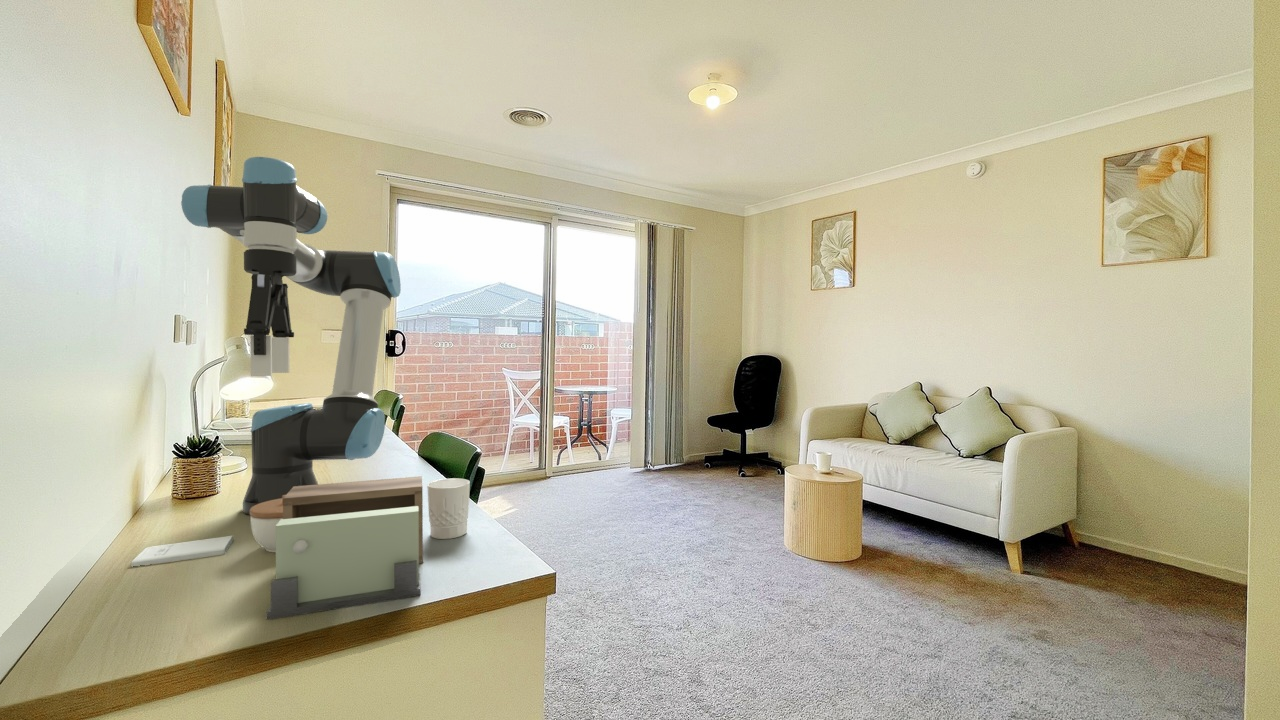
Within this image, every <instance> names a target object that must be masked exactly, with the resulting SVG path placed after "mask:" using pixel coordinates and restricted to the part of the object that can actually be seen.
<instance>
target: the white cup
mask: <svg viewBox="0 0 1280 720" xmlns="http://www.w3.org/2000/svg"><path fill="white" fill-rule="evenodd" d="M470 484H471V481H470V480H469V479H465V478H459V477H458V478H456V477H453V478H442V479H436V480H433V481H430V482H428V483H427V484H426V485H427V503H428V504H427V505H428V506H427V507H428V521H429V525H430V527H429V528H430V537H431V538H433V539H439V540H450V539H454V538H459V537H461V536H464V535H465V534H466V533H467V532H468V518H469V508H470V507H469V506H470V487H471V485H470Z"/></svg>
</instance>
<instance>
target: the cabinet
mask: <svg viewBox="0 0 1280 720" xmlns="http://www.w3.org/2000/svg"><path fill="white" fill-rule="evenodd" d="M423 497H424V495H423V476H422V475H421V476H410V477H409V476H408V477H407V476H406V477H397V478H384V479H371V480H370V479H369V480H359V481H347V482H346V481H345V482H334V483H321V484H319V483H318V485H306V486H294V487H293V488H292V489H291V490H290V491H289V492H288V493H287V494H286V496H285V497H284V498H283V519H292V518H302V517H312V516H322V515H332V514H342V513H352V512H362V511H372V510H382V509H392V508H402V507H412V506H418V509H419V564H423V563H424V561H423V560H424V559H423V555H424V551H423V549H424V548H423V547H424V543H423V541H424V540H423V539H424V537H423V535H424V534H423V531H424V529H423V520H424V519H423V515H424V514H423V506H424V505H423V500H424V499H423Z"/></svg>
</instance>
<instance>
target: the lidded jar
mask: <svg viewBox="0 0 1280 720" xmlns="http://www.w3.org/2000/svg"><path fill="white" fill-rule="evenodd" d="M285 496H286V495H283V496H282V498H281V499H275V500H270V501H266V502H262V503H260V504H257V505H255V506H253V507H251V509H250V515H249V516H250V528H251V533H252V536H253V539H254V540H255V542H256V543H257V544H258V545H259V546H261V547H263V548H264V549H265V551H266V552H269V553H276V525H277V524H278V522H279V521H280V520H281V519H283V498H284V497H285Z"/></svg>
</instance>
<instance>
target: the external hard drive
mask: <svg viewBox="0 0 1280 720" xmlns="http://www.w3.org/2000/svg"><path fill="white" fill-rule="evenodd" d="M233 541H234V535H228V536H227V535H226V536H220V537H219V536H218V537H213V538H212V537H211V538H206V539H205V538H203V539H197V540H190V541H189V540H188V541H181V542H176V543H175V542H174V543H168V544H161V545H153V546H146V547H145V548H144V549H143V550H142V551H141V552H140V553H139V554H137V556H136V557H135V558H134V559H132V561H131V564H130V565H131V568H134V567H133V566H138V567H141V566H140V565H145V566H150V564H152V565H159V564H165V563H172V562H179V561H187V560H193V559H194V560H195V559H201V558H202V559H203V558H207V557H208V558H209V557H214V556H215V557H216V556H221V555H222V556H224V555H225V554H226V553H227V551H228V550H229V548H230V546H231V544H233Z"/></svg>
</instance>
